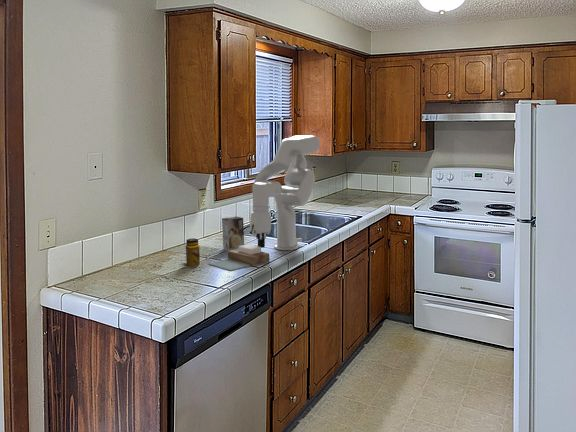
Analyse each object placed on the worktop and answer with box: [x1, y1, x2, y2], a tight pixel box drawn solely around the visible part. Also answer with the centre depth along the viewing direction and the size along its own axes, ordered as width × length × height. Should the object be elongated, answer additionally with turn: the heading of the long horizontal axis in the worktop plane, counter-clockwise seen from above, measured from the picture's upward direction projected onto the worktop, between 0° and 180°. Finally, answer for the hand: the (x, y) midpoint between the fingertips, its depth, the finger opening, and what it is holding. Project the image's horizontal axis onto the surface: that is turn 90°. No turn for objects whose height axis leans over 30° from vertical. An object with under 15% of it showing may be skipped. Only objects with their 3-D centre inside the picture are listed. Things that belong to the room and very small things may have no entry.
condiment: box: [181, 237, 202, 269], centre depth 248 cm, size 7×8×12 cm
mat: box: [208, 258, 252, 272], centre depth 248 cm, size 12×16×1 cm
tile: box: [239, 243, 262, 255], centre depth 255 cm, size 6×9×2 cm, turn 45°
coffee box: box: [221, 216, 245, 252], centre depth 277 cm, size 9×6×16 cm
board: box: [227, 249, 270, 267], centre depth 255 cm, size 10×18×4 cm, turn 45°
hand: (261, 247), depth 260 cm, fingers closed
